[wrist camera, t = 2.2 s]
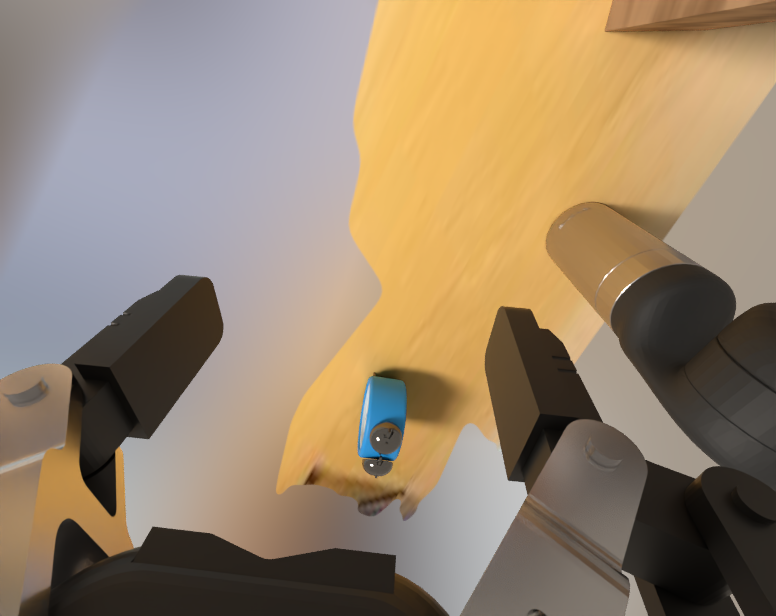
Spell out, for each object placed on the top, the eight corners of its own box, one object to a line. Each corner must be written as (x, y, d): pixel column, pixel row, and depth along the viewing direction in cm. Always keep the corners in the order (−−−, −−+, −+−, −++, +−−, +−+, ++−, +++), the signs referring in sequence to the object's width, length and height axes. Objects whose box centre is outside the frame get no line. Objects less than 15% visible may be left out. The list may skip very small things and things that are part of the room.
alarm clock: (372, 359, 61) (367, 433, 48) (407, 364, 61) (411, 439, 49) (360, 408, 68) (353, 484, 56) (391, 412, 69) (392, 488, 56)
